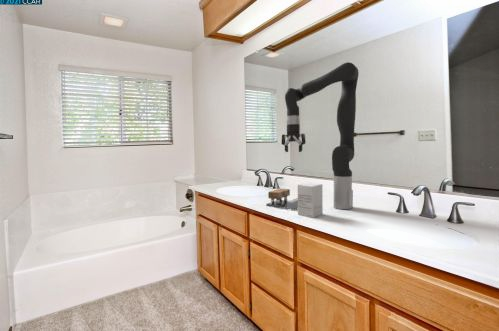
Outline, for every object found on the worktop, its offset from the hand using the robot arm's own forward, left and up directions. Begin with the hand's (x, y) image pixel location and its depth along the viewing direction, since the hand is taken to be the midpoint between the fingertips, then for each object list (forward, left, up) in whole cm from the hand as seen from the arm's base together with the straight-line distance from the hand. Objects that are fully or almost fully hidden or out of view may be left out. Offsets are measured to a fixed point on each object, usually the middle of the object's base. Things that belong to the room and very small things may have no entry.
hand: (293, 151), depth 160 cm
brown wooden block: (+5, +8, -26) cm, 27 cm away
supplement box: (-19, +20, -30) cm, 41 cm away
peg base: (+5, +8, -30) cm, 32 cm away
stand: (-6, +10, -30) cm, 32 cm away
